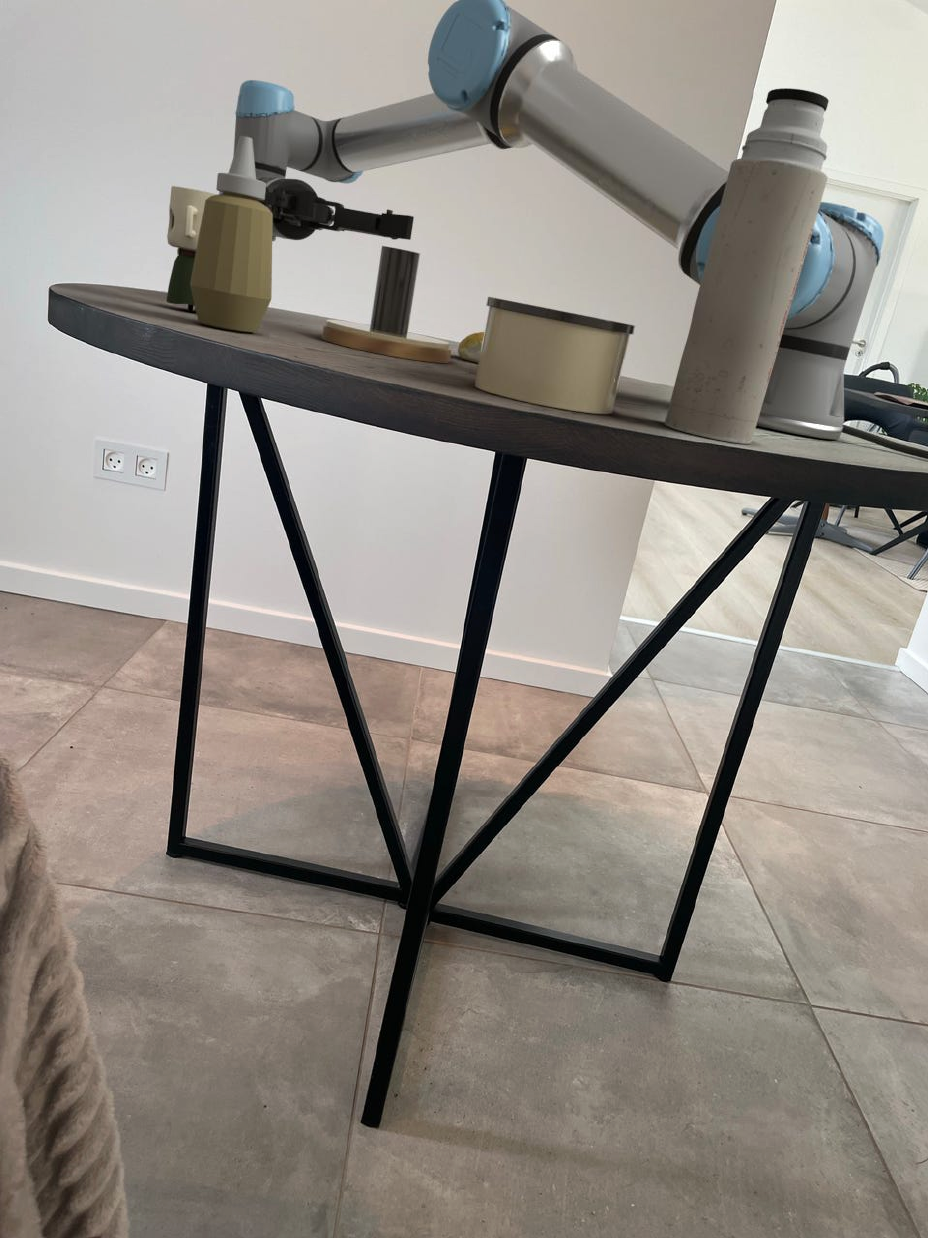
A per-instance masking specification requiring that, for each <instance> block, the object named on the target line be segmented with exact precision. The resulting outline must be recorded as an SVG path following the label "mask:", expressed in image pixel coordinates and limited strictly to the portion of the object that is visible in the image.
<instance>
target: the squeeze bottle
mask: <svg viewBox="0 0 928 1238" xmlns="http://www.w3.org/2000/svg"><path fill="white" fill-rule="evenodd" d="M233 155H234V157H233V156H232V160H231V164H230V167H229V169H228V172H218V173H217V175H216V176H217V177H216V188H215V189H216V191H218V192H223V194H219V193H218V195H214V196H211V197H209V198H208V199H206V200H205V206H204V211H203V217H202V222H201V227H200V233H199V238H198V244H197V249H196V255H195V260H194V265H193V271H192V276H191V282H190V286H191V291H192V295H193V300H194V304H195V306H194V310H195V309H196V310H195V313H196V317H197V321H198V322H199V323H201V324H203V325H205V326H207V327H210V328H213V329H218V330H224V331H230V332H235V333H236V332H237V333H246V334H249V333H257V332H258V330H259V328H260V325H261V323H262V321H263V318H264V316H265V314H266V312H267V310H268V308H269V305H270V304H271V302H272V289H273V287H272V285H273V279H272V278H273V274H272V273H273V241H272V221H273V214H272V212H271V211H270V210H269V209H268V208H267V207H266V206H264V205H263V204H261V203H260V202H258V200H265V191H266V183H264V182H262V181H259V180H257V179H256V172H255V162H254V151H253V141H252V138H250V137H246V136H240V137H239V141H238V144H237V147H236V150H235V154H234V153H233Z"/></svg>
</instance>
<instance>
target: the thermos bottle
mask: <svg viewBox="0 0 928 1238" xmlns="http://www.w3.org/2000/svg"><path fill="white" fill-rule="evenodd" d="M829 102H830V101H829V99H828V97H826V96H825V95H822V94H820V93H817V92H814V91H811V90H806V89H800V88H790V87H789V88H775V89H771V90H769V91H768V93H767V96H766V100H765V103H766V105H767V108H766V109H765V110H764V112H763V116H762V120H761V123H760V126H759V127H757V128H756V129H753V130H752V131H750V132H749V133H748V134H747V136H746V139H745V143H744V145H743V146H742V147H741V150H742V153H741V154H742V155H741V158H737V159H733V161H732V162H731V163H730V167H729V170H728V172H729V175H728V178H727V182H726V186H725V190H724V194H723V198H722V202H721V206H720V210H719V213H718V217H717V221H716V225H715V229H714V233H713V237H712V241H711V245H710V249H709V252H708V256H707V260H706V264H705V268H704V272H703V276H702V280H701V284H700V285H699V288H698V291H697V296H696V300H695V302H694V303H695V304H694V307H693V313H692V317H691V323H690V326H689V331H688V335H687V338H686V341H685V345H684V347H683V351H682V355H681V358H680V362H679V366H678V369H677V374H676V378H675V381H674V384H673V385H674V386H673V389H672V393H671V396H670V401H669V404H668V409H667V413H666V416H665V420H664V426H666V427H668V428H670V429H673V430H676V431H678V432H679V431H680V432H683V433H687V434H691V435H694V436H698V437H703V438H707V439H712V440H716V441H722V442H726V443H734V444H744V445H749V444H751V443H752V442H753V437H754V434H755V431H756V427H757V426H756V424H757V421H758V417H759V414H760V411H761V407H762V404H763V400H764V397H765V393H766V390H767V386H768V383H769V379H770V376H771V372H772V369H773V366H774V362H775V359H776V355H777V352H778V348H779V344H780V340H781V336H782V333H783V329H784V325H785V322H786V318H787V315H788V312H789V309H790V305H791V302H792V299H793V296H794V293H795V289H796V286H797V283H798V279H799V276H800V272H801V269H802V265H803V262H804V258H805V255H806V251H807V248H808V245H809V241H810V238H811V234H812V231H813V227H814V224H815V220H816V217H817V213H818V210H819V207H820V203H821V202H822V200H823V196H824V193H825V189H826V186H827V182H828V177H829V176H828V175H827V174H826V173H825V172H823V171H822V168H823V164H824V161H826V160H827V157H828V155H827V154H826V153H827V150H828V145H827V143H826V141H825V140H824V139H823V138H822V137H821V132H822V130H823V126H824V122H825V118H824V114H825V112H826V111H827V109H828V105H829Z"/></svg>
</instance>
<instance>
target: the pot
mask: <svg viewBox="0 0 928 1238" xmlns="http://www.w3.org/2000/svg"><path fill="white" fill-rule="evenodd" d="M485 306H486V307H488V309H487V315H486V322H485V326H484V331H483V332H484V337H483V342H482V347H481V353H480V358H479V363H477V368H476V369H477V370H476V376H475V381H474V387H475V388H476V389H479V390H481V391H483V392H487V393H490V394H492V395H496V396H499V397H503V398H507V399H510V400H511V399H512V400H515V401H520V402H523V403H527V404H532V405H537V406H541V407H548V408H553V409H558V410H564V411H570V412H576V413H584V414H591V415H592V414H593V415H611V414H612V413H613V411H614V406H615V401H616V397H617V393H618V388H619V385H620V381H621V377H622V371H623V368H624V364H625V359H626V355H627V351H628V347H629V342H630V338H631V336H632V335H635V331H636V327H637V326H636V325H635V324H628V323H624V322H621V321H615V320H609V319H604V318H600V317H599V318H598V317H594V316H589V315H584V314H580V313H573V312H568V311H563V310H558V309H554V308H548V307H544V306H540V305H539V306H538V305H533V304H529V303H524V302H519V301H512V300H509V299H503V298H497V297H493V296H487V298H486V302H485Z"/></svg>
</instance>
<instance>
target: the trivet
mask: <svg viewBox="0 0 928 1238" xmlns="http://www.w3.org/2000/svg"><path fill="white" fill-rule="evenodd" d="M321 339H322V340H323V341H326V342H328V343H332V344H335V345H338V346H342V347H346V348H351V349H353V350H359V351H364V352H368V353H373V354H378V355H382V356H388V357H394V358H400V359H405V360H412V361H417V362H418V361H419V362H427V363H437V364H448V363H450V360H451V354H452V348H451V347H449V348H448V349H436V348H428V347H421V346H415V345H408V344H402V343H397V342H391V341H386V340H381V339H376V338H371V337H366V336H361V335H357V334H352V333H348V332H344V331H340V330H337V329H333V328H330V327H328V326H326V324H323V327H322V335H321Z"/></svg>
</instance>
